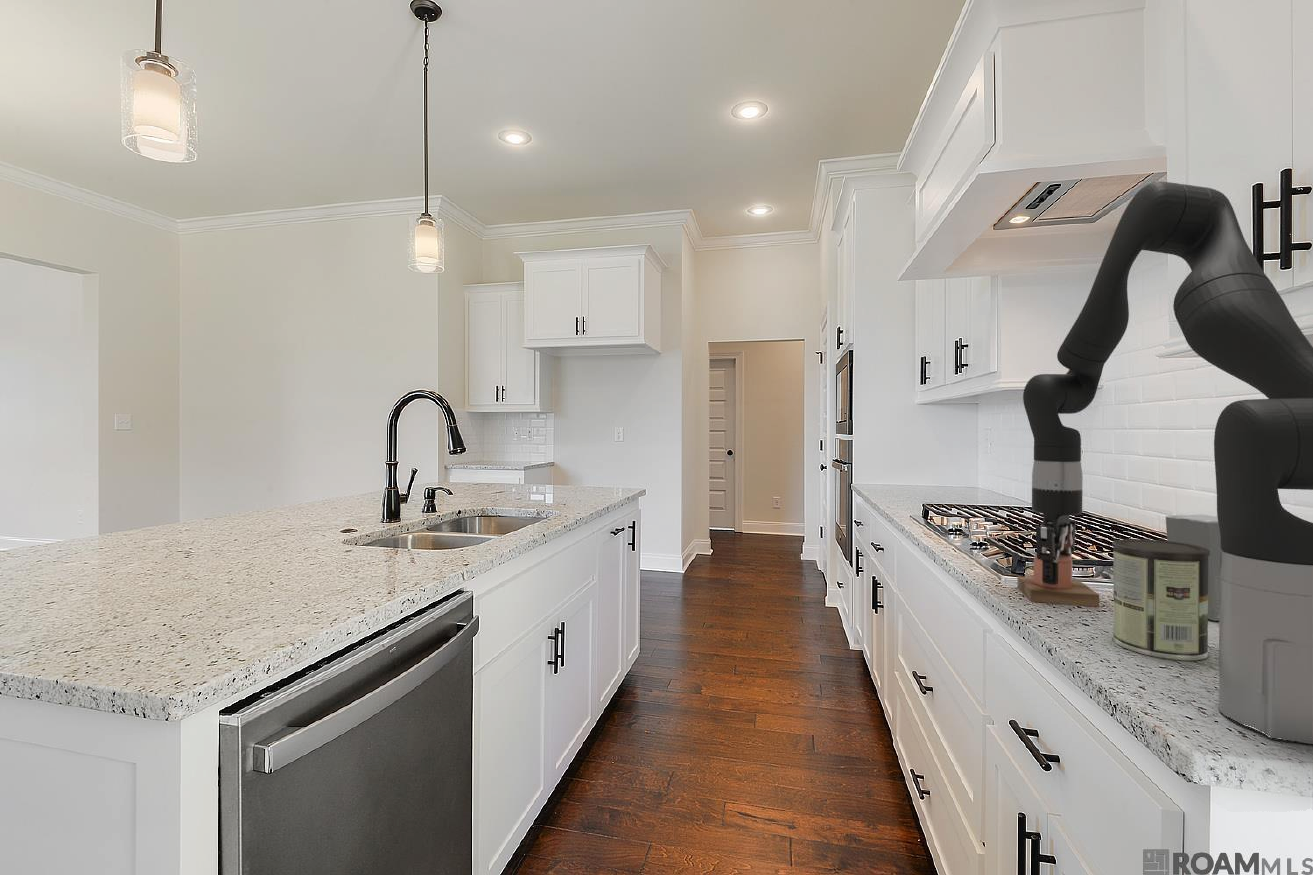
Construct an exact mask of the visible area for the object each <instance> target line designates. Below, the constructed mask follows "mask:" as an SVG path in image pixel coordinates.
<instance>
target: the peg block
mask: <svg viewBox="0 0 1313 875" xmlns="http://www.w3.org/2000/svg"><path fill="white" fill-rule="evenodd" d="M1016 585H1017V588H1018V589H1019V590H1020V591H1021V593H1023V595H1024V596H1025V597H1026V598H1027V599H1028V600H1029V601H1030V602H1033V603H1034V602H1035V603H1044V604H1045V603H1047V604H1055V605H1056V604H1057V605H1059V604H1060V605H1072V606H1083V607H1084V606H1085V607H1096V608H1100V594H1098V593H1097V592H1096V591H1095V590H1093V589H1092V588H1090V587H1089V586H1088V585H1087V584H1085V583H1084V582H1082V581H1081V580H1077V579H1076V580H1075V579H1072V587H1071V588H1068V589H1057V588H1050V587H1043V586H1040V585H1038V584H1035V583H1033V576H1032V577H1030V576H1017V584H1016Z"/></svg>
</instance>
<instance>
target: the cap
mask: <svg viewBox="0 0 1313 875" xmlns="http://www.w3.org/2000/svg"><path fill="white" fill-rule="evenodd" d="M1047 553H1048V552H1047ZM1048 554H1050V552H1049V553H1048ZM1042 562H1043V561H1041V560H1040V559H1037V553H1034V557H1033V572H1032V574H1033V576H1032V577H1033V583H1035V584H1038V585H1040V586H1043V587H1050V588H1057V589H1068V588H1071V587H1072V580H1073V563H1074V562H1073V558H1072V556H1071V557H1068V556H1065V555H1059V562H1058V583H1057V584H1055V585H1052V584H1046V583H1044V582H1043V581H1042Z"/></svg>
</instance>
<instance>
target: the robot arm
mask: <svg viewBox="0 0 1313 875" xmlns="http://www.w3.org/2000/svg"><path fill="white" fill-rule="evenodd" d="M1142 251H1149V252H1155V253H1161V254H1167V255H1171V256H1172V255H1173V256H1176V257H1179V258H1181V259H1182V260H1184V261H1185V263H1186V264H1187V265H1188V267H1189V268H1190V273H1188V275H1187V276H1186V277H1185V279H1184V280H1183V281H1182V282H1181V284H1180V286H1179V287H1178V289H1177V291H1176V293H1175V295H1174V299H1173V304H1172V305H1173V306H1172V307H1173V312H1174V313H1173V314H1174V316H1175V319H1176V322H1177V323H1178V325H1179V328H1180V330H1181V332H1182V334H1183V337H1184V339H1185V341H1186V343H1187V345H1188V346H1189V347H1190V348H1191V350H1192V351H1193V352H1194V353H1195V354H1197V355H1198V356H1199V357H1200V358H1202V359H1203V360H1205V361H1207V363H1209V364H1211V365H1213V366H1214V367H1216V368H1217V369H1220V370H1221V371H1223V372H1226V373H1227V374H1229V375H1231V376H1232V377H1234V378H1237V379H1238V380H1240V381H1242V382H1244V383H1246V384H1248V385H1249V386H1250V387H1252V388H1254V389H1256V390H1257V391H1259V392H1260V393H1261V394H1263V395H1264V396H1265V397H1266V398H1260V399H1257V398H1255V399H1254V398H1253V399H1252V398H1251V399H1241V400H1240V399H1239V400H1236V401H1233V402H1231V403H1229V404H1227V405H1226V406H1225V407H1224V409H1223V410H1222V411H1221V412H1220V414H1219V416H1218V418H1217V422H1216V425H1215V429H1214V436H1213V437H1214V439H1213V449H1214V450H1213V456H1214V469H1215V470H1214V472H1215V485H1216V486H1215V488H1216V517H1218V524H1219V529H1220V537H1221V550H1220V607H1219V622H1218V624H1219V626H1218V627H1219V628H1218V710H1219V712H1220V713H1221V712H1222V713H1223V714H1222V715H1224V716H1225V717H1226V716H1227V717H1226V718H1228V717H1230V718H1231V719H1233V720H1235V721H1237V722H1239V723H1241V724H1245V725H1248V726H1251V727H1254V728H1256V729H1258V730H1260V731H1263V732H1264V733H1265V734H1267V735H1268V736H1270V737H1271V738H1270V739H1272V738H1281V739H1285V740H1284V741H1286V740H1292V741H1291V742H1294V741H1298V742H1297V743H1303V744H1312V745H1313V522H1311V521H1310V520H1309V521H1308V520H1305V519H1303V518H1301V517H1298V516H1296V515H1295V514H1292V513H1291V512H1289V511H1288V510H1287V509H1285V508H1284V506H1282V503H1281V501H1280V494H1279V490H1299V491H1301V490H1303V491H1304V490H1305V491H1306V490H1307V491H1308V490H1310V491H1313V345H1312V344H1311V343H1310V341H1309V340H1308V337H1306V336H1305V334H1304V333H1303V331H1302V329H1301V328H1300V327H1299V325H1298V324H1297V322H1296V321H1295V319H1294V317H1293V316H1292V314H1291V313H1290V310H1289V308H1288V306H1287V305H1286V303H1285V302H1284V300H1283V298H1282V296H1281V295H1280V293H1279V291H1278V290H1277V289H1276V287H1275V285H1274V284H1273V283H1272V281H1271V280H1270V278H1269V277H1268V276H1267V275H1266V273H1265V272H1264V271H1263V269H1262V267H1261V266H1260V264H1259V263H1258V261H1257V259H1256V257H1255V255H1254V253H1253V252H1252V249H1251V248H1250V247H1249V245H1248V244H1247V241H1246V239H1245V237H1244V234H1243V232H1242V229H1241V227H1240V224H1239V220H1238V219H1237V216H1236V212H1235V210H1234V207H1233V205H1232V203H1231V202H1230V200H1229V198H1228V196H1226V195H1225V194H1224V193H1223V192H1221V191H1219V190H1217V189H1214V188H1211V187H1206V186H1205V187H1204V186H1199V185H1193V184H1192V185H1191V184H1184V183H1177V182H1169V181H1153V182H1150V183H1147V184H1146V185H1144V186H1143V187H1142V188H1141V189H1140V190H1138V191H1137V192H1136V193H1135V194H1134V195H1133V197H1132V198H1131V200H1130V201H1129V203H1128V204H1127V206H1126V208H1125V209H1124V211H1123V213H1122V215H1121V217H1120V219H1119V221H1118V223H1117V225H1116V228H1115V230H1114V233H1113V235H1112V238H1111V239H1110V242H1109V245H1108V248H1107V249H1106V252H1105V254H1104V256H1103V259H1102V262H1101V264H1100V267H1099V268H1098V271H1097V274H1096V277H1095V278H1094V281H1093V284H1092V286H1091V289H1090V292H1089V294H1088V296H1087V298H1086V301H1085V303H1084V305H1083V307H1082V309H1081V311H1080V313H1079V315H1078V316H1077V318H1076V319H1075V322H1073V325H1072V327H1071V328H1070V330H1069V332H1068V333H1067V335H1066V336H1065V338H1064V339H1063V342H1062V344H1060V345H1059V348H1058V351H1057V353H1056V354H1057V355H1056V357H1057V361H1058V362H1059V364H1060V365H1061V366H1062V367H1064V368H1066V369H1067V370H1068V371H1067V372H1066V373H1063V374H1062V373H1061V374H1060V373H1059V374H1058V373H1052V374H1051V373H1042V374H1036V375H1034V376H1032V377H1031V378H1030V379H1029V380H1028V381H1027V383H1026V384H1025V386H1024V389H1023V393H1022V400H1023V401H1022V402H1023V406H1024V409H1025V412H1026V417H1027V419H1028V422H1029V427H1030V430H1031V433H1032V435H1033V436H1032V437H1033V466H1032V472H1031V510H1032V512H1035V513H1038V514H1042V515H1043V519H1042V522H1041V523H1040V525H1036V526H1035V540H1036V541H1035V544H1036V545H1035V546H1036V554H1037V559H1040V560H1041V561H1043V562H1042V581H1043V582H1044V583H1046V584H1052V585H1055V584H1057V583H1058V562H1059V555H1065V556H1068V557H1071V558H1072V553H1075V550H1076V546H1075V543H1076V528H1077V527H1076V526H1077V521H1076V519H1070V516H1080V515H1081V514H1083V483H1084V482H1083V469H1082V462H1081V461H1082V453H1081V452H1082V447H1081V446H1082V436H1081V432H1079V431H1078V430H1077V429H1076V428H1073V427H1069V426H1065V425H1063V423H1062V421H1061V418H1060V415H1062V414H1063V415H1067V414H1068V415H1069V414H1070V415H1072V414H1078V413H1080V412H1081V411H1083V410H1085V409H1086V408H1088V406H1090V405H1091V403H1092V402H1093V401H1094V398H1095V397H1096V393H1097V390H1098V388H1099V384H1100V381H1101V380H1100V379H1101V377H1102V373H1103V370H1104V365H1105V364H1106V363H1107V361H1108V360H1109V358H1110V356H1112V353H1113V352H1114V351H1115V349H1116V348H1117V346H1118V345H1119V344H1120V342H1121V340H1122V338H1123V337H1124V335H1125V333H1126V331H1127V328H1128V324H1129V317H1130V310H1129V309H1130V308H1129V306H1130V305H1129V299H1128V298H1129V297H1128V283H1129V282H1128V280H1129V274H1130V271H1131V268H1132V266H1133V264H1134V262H1135V260H1136V259H1137V257H1138V256H1139V255H1140V253H1141V252H1142ZM1059 414H1060V415H1059ZM1048 550H1049V553H1050V554H1048ZM1231 719H1230V720H1231ZM1233 720H1232V721H1233ZM1235 721H1234V722H1235ZM1237 722H1236V723H1237ZM1239 723H1238V724H1239ZM1241 724H1240V725H1241Z"/></svg>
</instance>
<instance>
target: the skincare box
mask: <svg viewBox="0 0 1313 875" xmlns="http://www.w3.org/2000/svg"><path fill="white" fill-rule="evenodd" d="M1165 527H1166V528H1165V529H1166V541H1171V542H1179V543H1186V544H1191V545H1196V546H1200V547H1204V548H1206V549H1208V550H1209V551H1210V555H1209V557H1208V620H1210V621H1215V622H1216V621H1217V622H1218V621H1219V607H1220V550H1221V537H1220V529H1219V524H1218V517H1217V515H1216V516H1215V515H1208V514H1187V515H1186V514H1185V515H1184V514H1183V515H1181V514H1180V515H1166V516H1165Z"/></svg>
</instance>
